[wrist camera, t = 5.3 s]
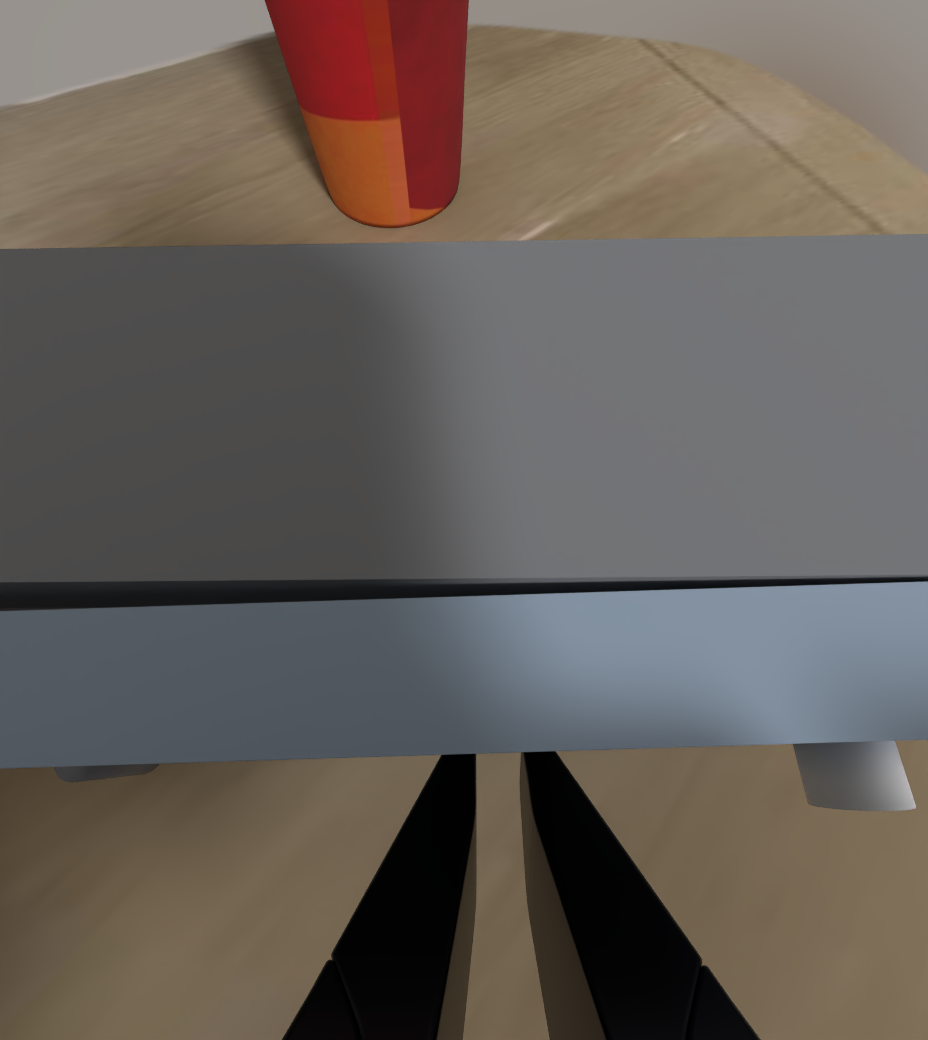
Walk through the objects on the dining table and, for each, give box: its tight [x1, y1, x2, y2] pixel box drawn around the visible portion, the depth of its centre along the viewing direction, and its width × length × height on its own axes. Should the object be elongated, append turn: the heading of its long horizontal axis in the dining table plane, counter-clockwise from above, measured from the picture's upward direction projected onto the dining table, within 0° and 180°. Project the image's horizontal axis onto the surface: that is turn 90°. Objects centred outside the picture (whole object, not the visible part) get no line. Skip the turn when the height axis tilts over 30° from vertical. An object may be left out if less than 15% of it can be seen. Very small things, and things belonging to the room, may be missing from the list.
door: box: [0, 582, 928, 811], centre depth 9 cm, size 3×17×10 cm, turn 92°
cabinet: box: [0, 234, 928, 611], centre depth 11 cm, size 5×17×10 cm, turn 90°
